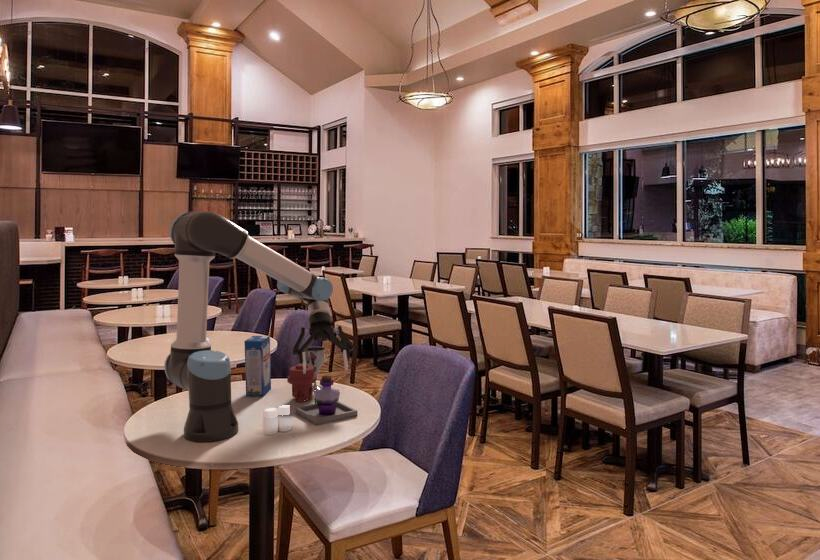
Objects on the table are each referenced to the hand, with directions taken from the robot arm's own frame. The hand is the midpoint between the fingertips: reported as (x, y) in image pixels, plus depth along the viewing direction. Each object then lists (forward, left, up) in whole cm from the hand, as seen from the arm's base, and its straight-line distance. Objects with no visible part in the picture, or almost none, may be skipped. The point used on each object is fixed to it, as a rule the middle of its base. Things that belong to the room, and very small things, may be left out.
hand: (325, 370), depth 192 cm
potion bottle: (-2, -3, -13) cm, 14 cm away
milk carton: (-10, +33, -14) cm, 37 cm away
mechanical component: (-1, +16, -14) cm, 21 cm away
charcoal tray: (-2, -3, -14) cm, 14 cm away
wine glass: (+9, +26, -14) cm, 31 cm away
